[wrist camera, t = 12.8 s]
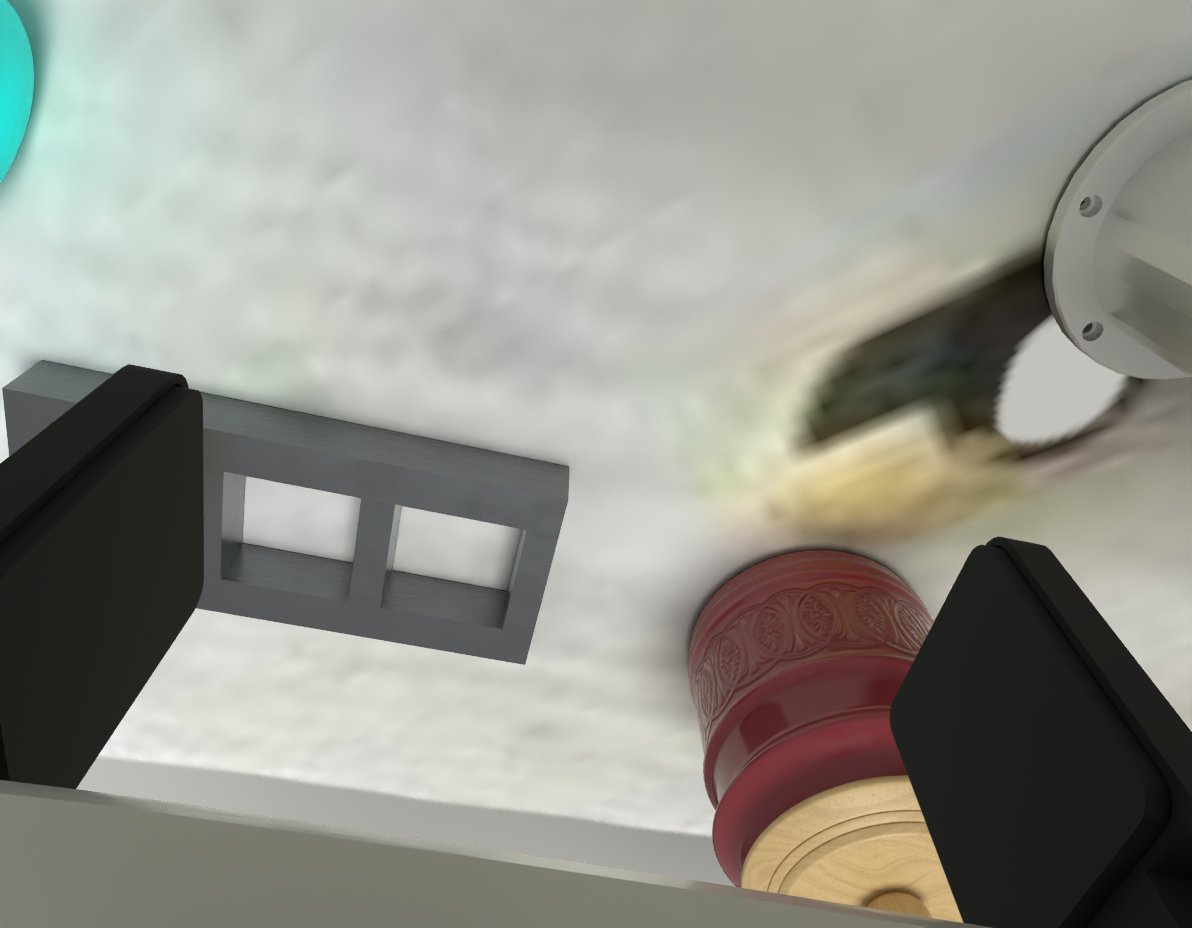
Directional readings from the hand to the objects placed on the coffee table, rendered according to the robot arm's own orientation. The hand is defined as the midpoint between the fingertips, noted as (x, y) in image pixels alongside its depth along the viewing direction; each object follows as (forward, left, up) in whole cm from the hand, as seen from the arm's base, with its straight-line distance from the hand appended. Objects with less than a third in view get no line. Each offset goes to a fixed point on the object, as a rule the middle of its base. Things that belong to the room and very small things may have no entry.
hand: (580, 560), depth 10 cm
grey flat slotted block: (+9, +19, -27) cm, 35 cm away
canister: (-17, +22, -28) cm, 39 cm away
